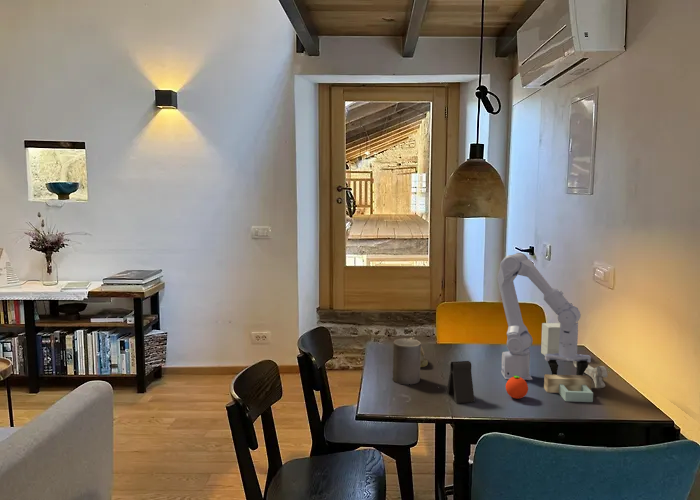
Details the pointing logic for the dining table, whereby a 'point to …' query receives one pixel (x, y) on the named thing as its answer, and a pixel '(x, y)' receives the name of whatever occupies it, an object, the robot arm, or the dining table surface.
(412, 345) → the pillar candle
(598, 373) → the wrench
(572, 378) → the tan rectangular block
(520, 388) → the clementine
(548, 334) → the supplement box
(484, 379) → the dining table surface
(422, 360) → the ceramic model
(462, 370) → the phone stand
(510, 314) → the robot arm
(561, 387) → the bracket
